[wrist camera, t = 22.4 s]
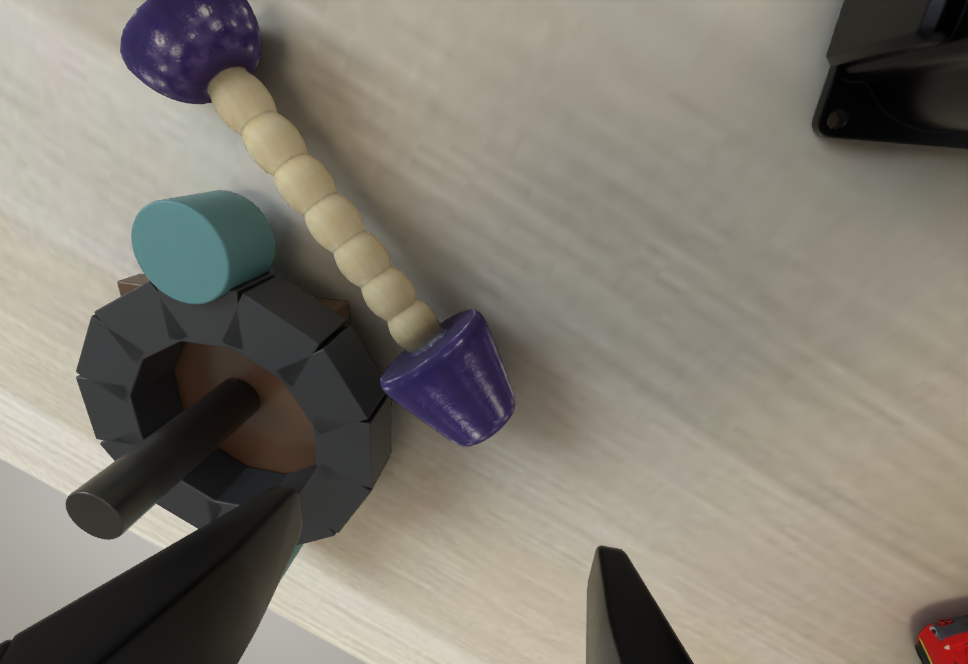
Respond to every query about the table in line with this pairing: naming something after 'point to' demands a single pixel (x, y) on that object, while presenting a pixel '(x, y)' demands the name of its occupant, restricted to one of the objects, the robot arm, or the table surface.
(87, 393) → the grey faceted ring
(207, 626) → the robot arm
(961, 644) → the race car
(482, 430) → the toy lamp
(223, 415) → the stand
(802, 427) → the table surface
